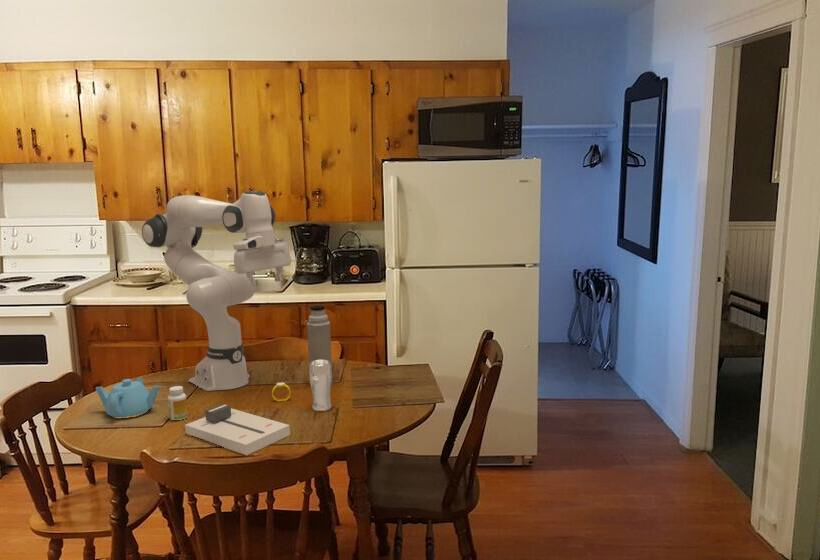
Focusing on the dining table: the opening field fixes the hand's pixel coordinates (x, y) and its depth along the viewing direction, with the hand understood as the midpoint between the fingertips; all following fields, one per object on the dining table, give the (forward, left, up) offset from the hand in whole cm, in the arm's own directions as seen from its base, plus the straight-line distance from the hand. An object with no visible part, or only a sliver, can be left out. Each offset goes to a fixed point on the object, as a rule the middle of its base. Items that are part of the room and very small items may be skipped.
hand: (266, 283), depth 215 cm
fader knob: (+7, -28, -35) cm, 45 cm away
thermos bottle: (+5, +18, -39) cm, 43 cm away
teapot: (-29, -34, -39) cm, 59 cm away
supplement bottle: (-11, -29, -39) cm, 50 cm away
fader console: (+15, -28, -39) cm, 50 cm away
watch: (+5, -1, -39) cm, 39 cm away
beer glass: (+21, +1, -39) cm, 44 cm away
